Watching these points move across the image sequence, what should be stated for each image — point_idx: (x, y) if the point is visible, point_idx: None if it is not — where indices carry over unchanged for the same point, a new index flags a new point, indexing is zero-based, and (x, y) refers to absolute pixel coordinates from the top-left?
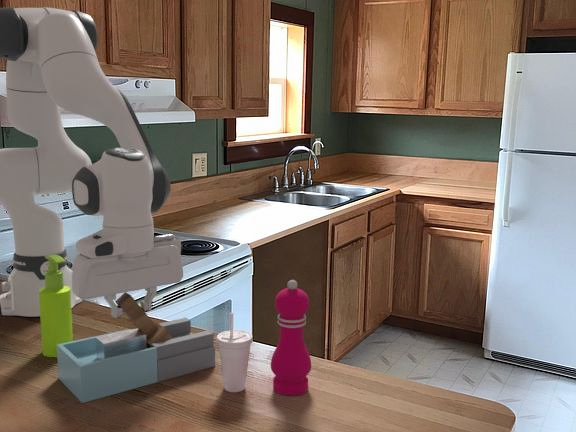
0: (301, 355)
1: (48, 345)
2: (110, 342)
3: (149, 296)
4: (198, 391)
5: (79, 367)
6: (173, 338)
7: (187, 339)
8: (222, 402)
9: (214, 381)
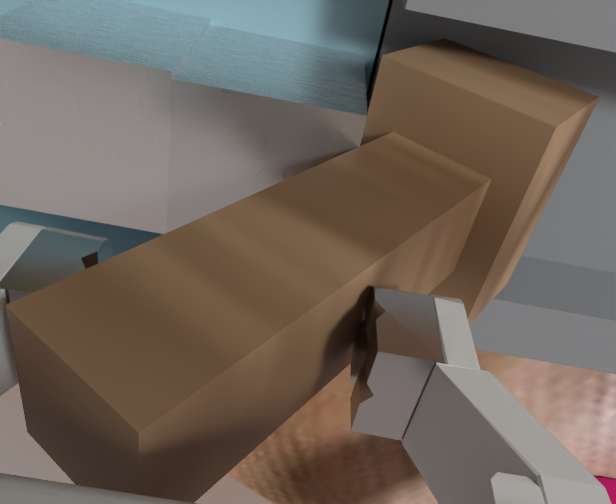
0: None
1: None
2: (50, 211)
3: (448, 485)
4: None
5: None
6: (506, 283)
7: (530, 357)
8: (374, 444)
9: (483, 353)
